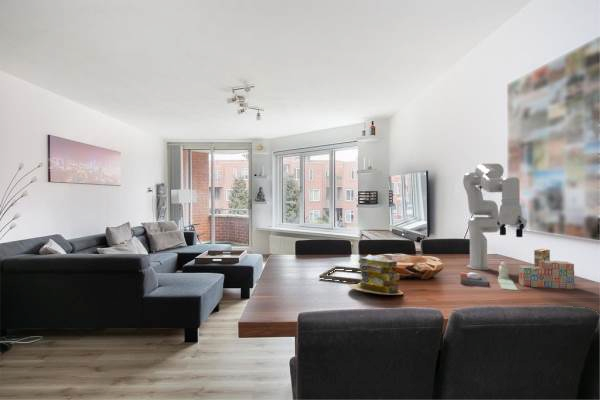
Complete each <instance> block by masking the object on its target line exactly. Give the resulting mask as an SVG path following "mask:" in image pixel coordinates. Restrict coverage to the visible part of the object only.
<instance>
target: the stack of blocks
mask: <svg viewBox="0 0 600 400" xmlns="http://www.w3.org/2000/svg"><path fill="white" fill-rule="evenodd" d="M518 284H520V285H521V286H523V287H535V288H550V289H551V288H553V289H566V290H574V289H575V263H572V262H569V261H561V260H550V261H541V260H539V266H535V265H519V266H518Z"/></svg>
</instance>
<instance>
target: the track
mask: <svg viewBox="0 0 600 400" xmlns="http://www.w3.org/2000/svg"><path fill="white" fill-rule="evenodd" d="M497 281H498V283H499V287H500V288H501V290H506V291H507V290H508V291H515V292H516V291H517V292H518V291H519V289H518V288H517V286H516V285H515V283H514V281H513V280H512V279H510V278H509V279H499V278H498V277H497Z"/></svg>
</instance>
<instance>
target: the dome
mask: <svg viewBox="0 0 600 400" xmlns="http://www.w3.org/2000/svg"><path fill="white" fill-rule="evenodd" d="M466 273H467V272H466ZM481 276H482V275H481V274H479V273H478V272H468V273H467V279H472V280H480V279H481Z"/></svg>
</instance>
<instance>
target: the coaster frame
mask: <svg viewBox="0 0 600 400" xmlns="http://www.w3.org/2000/svg"><path fill="white" fill-rule="evenodd" d="M335 269H344V270H352V271H360V270H359V269H360V267H351V266H339V265H335V266H332V267H331V268H329V269H328V270H325V272H323V273H321V274H319V275H318V277H319V278H324V279H332V280H339V281H346V282H354V283H360V281H361V280H362V278H356V277H355V278H354V277H345V276H335V275H328V276H327V274H329V273H330V272H332V271H334V270H335Z"/></svg>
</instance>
